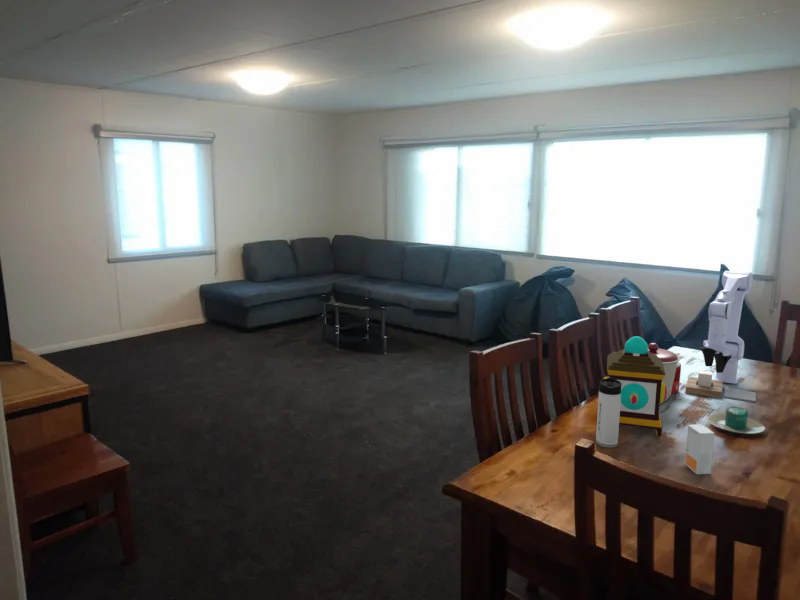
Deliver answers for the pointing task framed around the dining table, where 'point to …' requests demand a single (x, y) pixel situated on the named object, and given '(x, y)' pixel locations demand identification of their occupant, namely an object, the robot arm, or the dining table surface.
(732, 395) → the coaster
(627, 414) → the decorative lantern
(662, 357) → the canister
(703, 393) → the pocket board
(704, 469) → the skincare box
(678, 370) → the canned food
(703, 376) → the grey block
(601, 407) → the travel mug
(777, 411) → the dining table surface
